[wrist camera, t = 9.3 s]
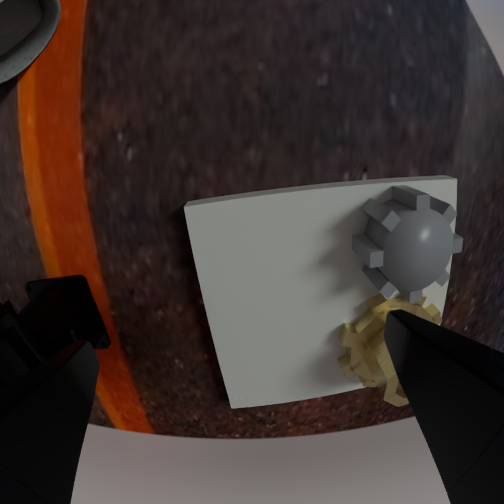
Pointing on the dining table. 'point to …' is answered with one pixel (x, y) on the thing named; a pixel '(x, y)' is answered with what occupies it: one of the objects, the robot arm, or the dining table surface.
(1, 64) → the ceramic mug
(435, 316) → the gear
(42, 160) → the dining table surface
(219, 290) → the carrier
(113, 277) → the dining table surface
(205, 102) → the dining table surface
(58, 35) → the dining table surface
